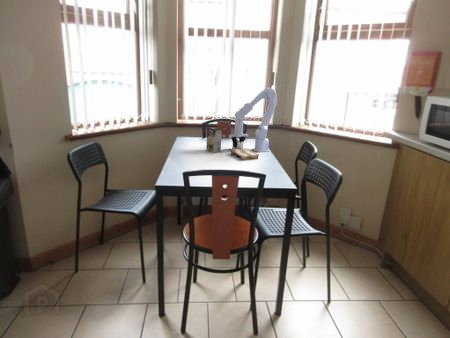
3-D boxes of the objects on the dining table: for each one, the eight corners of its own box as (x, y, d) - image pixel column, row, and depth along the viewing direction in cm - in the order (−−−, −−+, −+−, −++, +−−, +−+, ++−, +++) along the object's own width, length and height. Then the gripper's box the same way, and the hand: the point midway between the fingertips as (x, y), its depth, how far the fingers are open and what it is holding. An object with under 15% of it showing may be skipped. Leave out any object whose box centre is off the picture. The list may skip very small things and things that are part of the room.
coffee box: (205, 150, 218) (206, 127, 213) (212, 149, 222) (213, 126, 217) (214, 153, 211) (215, 129, 206) (221, 152, 215) (222, 129, 210)
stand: (245, 152, 217) (245, 148, 216) (258, 158, 204) (258, 154, 203) (230, 153, 212) (230, 149, 211) (242, 160, 198) (242, 155, 197)
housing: (236, 148, 227) (237, 139, 225) (242, 151, 221) (243, 141, 218) (232, 148, 225) (232, 139, 223) (237, 151, 219) (238, 142, 217)
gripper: (244, 126, 225) (243, 145, 229) (227, 127, 218) (225, 146, 222) (249, 128, 219) (248, 147, 223) (231, 129, 212) (230, 149, 216)
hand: (237, 147), depth 222 cm, fingers closed on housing, 4 cm apart
